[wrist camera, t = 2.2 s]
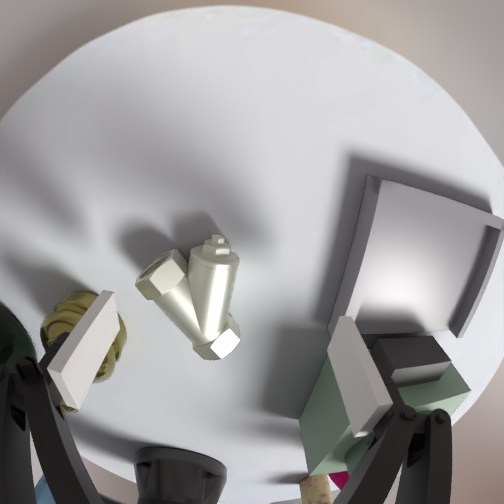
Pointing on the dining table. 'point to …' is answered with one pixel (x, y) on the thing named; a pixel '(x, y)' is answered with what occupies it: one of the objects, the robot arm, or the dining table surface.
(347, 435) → the mower housing
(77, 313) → the brass rounded piece
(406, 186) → the tray
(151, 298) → the pipe fitting
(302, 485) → the tan cylindrical piece
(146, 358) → the dining table surface
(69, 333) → the robot arm
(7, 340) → the dark green wine bottle
